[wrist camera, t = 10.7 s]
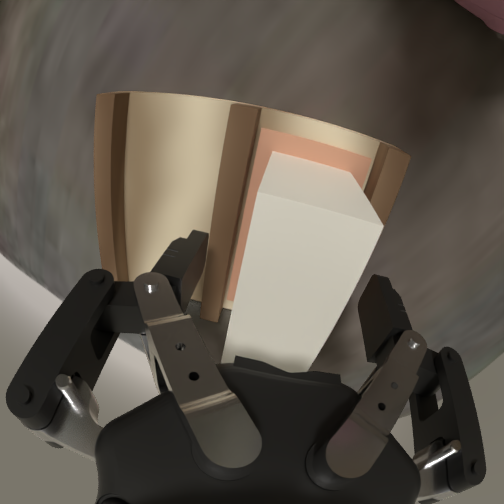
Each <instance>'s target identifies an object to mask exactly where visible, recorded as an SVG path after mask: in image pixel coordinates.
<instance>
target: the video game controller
mask: <svg viewBox="0 0 504 504" xmlns="http://www.w3.org/2000/svg"><path fill="white" fill-rule="evenodd" d="M454 1H455V2H457V3H458V4H459V5H461V6H462V7H464V8H465V9H467V10H468V11H469V12H471V13H472V14H474V15H475V16H477V17H478V18H480V19H482V20H483V21H484V23H485V24H486V25H487V26H488V27H489V28H490V29H492V30H494V31H496V32H498V33H500V34H503V35H504V0H454Z"/></svg>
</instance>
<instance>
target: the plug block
mask: <svg viewBox="0 0 504 504" xmlns="http://www.w3.org/2000/svg"><path fill="white" fill-rule="evenodd" d="M383 227H384V226H383V224H382V222H381V220H380V219H379V217H378V215H377V214H376V212H375V210H374V209H373V207H372V205H371V204H370V202H369V200H368V199H367V197H366V195H365V194H364V192H363V191H362V189H361V188H360V186H359V184H358V183H357V181H356V180H355V178H354V177H353V175H352V174H351V172H348V171H344V170H341V169H338V168H334V167H331V166H328V165H324V164H321V163H317V162H314V161H310V160H306V159H302V158H299V157H295V156H291V155H287V154H283V153H279V152H274V151H272V154H271V156H270V159H269V162H268V165H267V167H266V170H265V173H264V175H263V178H262V181H261V184H260V186H259V189H258V192H257V196H256V201H255V205H254V210H253V215H252V219H251V224H250V228H249V233H248V238H247V242H246V247H245V251H244V256H243V261H242V265H241V270H240V275H239V279H238V284H237V289H236V293H235V298H234V303H233V308H232V312H231V317H230V322H229V326H228V331H227V336H226V341H225V346H224V350H223V355H222V360H221V363H234V359H235V355H237V356H241V357H245V358H250V359H254V360H259V361H263V362H265V363H267V364H270V365H272V366H274V367H277V368H279V369H282V370H284V371H286V372H290V373H295V372H307V371H308V369H309V368H310V366H311V365H312V363H313V361H314V360H315V358H316V356H317V355H318V353H319V352H320V350H321V348H322V347H323V345H324V343H325V341H326V340H327V338H328V336H329V335H330V333H331V331H332V329H333V328H334V326H335V324H336V322H337V321H338V319H339V317H340V315H341V313H342V311H343V310H344V308H345V306H346V304H347V302H348V300H349V298H350V296H351V295H352V293H353V291H354V289H355V287H356V285H357V283H358V281H359V279H360V277H361V275H362V273H363V271H364V269H365V267H366V265H367V263H368V260H369V258H370V256H371V254H372V252H373V250H374V248H375V245H376V243H377V241H378V239H379V236H380V234H381V232H382V230H383Z"/></svg>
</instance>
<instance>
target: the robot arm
mask: <svg viewBox="0 0 504 504" xmlns="http://www.w3.org/2000/svg"><path fill="white" fill-rule="evenodd" d="M208 240H209V233H206V232H202V231H198V230H192V232H191V233H190V235H189V236H188V238H187V239H186V238H182V237H179V238H177V239H176V240H174V241H172V242H171V243H170V245H169V246H168V247H167V249H166V250H165V252H164V253H163V255H162V256H161V257H160V259H159V260H158V261H157V263H156V264H155V266H154V267H153V268H152V270H151V271H150V272H147V273H143V274H141V275H139V276H138V277H136V279H135V280H134V281H132V282H125V281H114V277H113V275H112V273H111V272H109V271H107V270H104V269H94V270H91V271H89V272H87V273H85V274H84V275H83V276H82V278H81V279H80V280H79V282H78V283H77V284H76V285H75V287H74V288H73V289H72V291H71V292H70V293H69V295H68V296H67V297H66V299H65V300H64V301H63V303H62V304H61V306H60V307H59V308H58V309H57V311H56V312H55V314H54V315H53V317H52V318H51V319H50V321H49V322H48V324H47V325H46V327H45V328H44V330H43V331H42V332H41V334H40V336H39V337H38V339H37V340H36V342H35V343H34V345H33V347H32V348H31V349H30V351H29V353H28V354H27V356H26V357H25V359H24V361H23V363H22V364H21V366H20V367H19V369H18V371H17V373H16V374H15V376H14V378H13V380H12V382H11V383H10V385H9V387H8V389H7V392H6V403H7V406H8V408H9V409H10V411H11V412H12V413H13V414H14V415H15V416H16V417H17V418H18V419H19V420H20V421H21V422H22V423H23V425H24V426H25V427H27V428H28V429H29V430H30V431H31V432H33V433H34V434H35V435H36V436H37V437H39V438H40V439H42V440H44V441H45V442H47V443H48V444H49V445H51V446H52V447H55V448H63V447H65V448H67V449H69V450H71V451H73V452H75V453H77V454H79V455H81V456H84V457H86V458H88V459H90V460H93V461H95V462H96V465H97V470H98V481H99V485H98V486H99V487H98V495H97V499H96V502H95V504H415V502H416V501H418V502H419V503H421V504H432V503H435V502H438V501H440V500H443V499H446V498H448V497H451V496H453V495H456V494H458V493H460V492H462V491H465V490H467V489H469V488H472V487H474V486H476V485H478V484H480V483H481V482H482V481H483V479H484V477H485V474H486V462H485V455H484V449H483V443H482V436H481V431H480V426H479V422H478V417H477V412H476V408H475V404H474V400H473V396H472V392H471V389H470V386H469V382H468V378H467V375H466V372H465V369H464V365H463V362H462V359H461V357H460V355H459V354H458V353H457V352H456V351H455V350H454V349H452V348H450V347H444V348H442V350H441V351H440V352H439V353H437V352H435V351H432V350H430V349H428V348H427V343H426V341H425V339H424V338H423V337H422V336H421V335H420V334H419V333H417V332H415V331H413V330H412V327H411V324H410V321H409V318H408V316H407V313H406V312H405V311H406V310H405V307H404V306H403V302H402V299H401V297H400V296H399V294H398V293H397V292H396V291H395V289H393V288H392V285H391V283H390V280H389V278H387V277H383V276H380V275H376V274H374V275H373V276H372V277H371V279H370V281H369V282H368V284H367V286H366V288H365V290H364V292H363V294H362V296H361V297H360V300H359V303H358V313H359V318H360V323H361V328H362V333H363V339H364V345H365V351H366V357H367V362H372V363H377V366H376V368H375V369H374V370H373V371H372V373H371V374H370V375H369V377H368V378H367V380H366V381H365V382H364V384H363V385H362V386H361V388H360V389H359V390H358V392H356V391H354V390H353V389H352V388H350V387H348V386H346V385H344V384H342V383H341V378H340V375H338V374H331V373H324V372H318V371H313V372H295V373H290V372H286V371H284V370H282V369H279V368H277V367H274V366H272V365H270V364H267V363H265V362H263V361H259V360H254V359H250V358H245V357H241V356H237V355H235V359H234V363H221V364H215V363H214V361H213V359H212V358H211V356H210V354H209V352H208V350H207V348H206V346H205V344H204V342H203V340H202V338H201V336H200V334H199V332H198V330H197V328H196V326H195V324H194V322H193V320H192V318H191V317H190V315H189V314H184V312H185V310H186V308H187V306H188V303H189V301H190V299H191V297H192V295H193V293H194V290H195V288H196V286H197V284H198V282H199V280H200V278H201V275H202V273H203V270H204V267H205V263H206V255H207V248H208ZM120 333H137V334H140V337H141V340H142V343H143V347H144V350H145V353H146V356H147V359H148V361H149V364H150V368H151V371H152V375H153V378H154V382H155V385H156V388H157V390H158V393H159V395H158V396H156V397H154V398H153V399H151V400H149V401H147V402H145V403H144V404H142V405H140V406H138V407H136V408H134V409H133V410H131V411H129V412H127V413H125V414H123V415H121V416H120V417H117V418H116V419H114V420H112V421H111V422H109V423H108V424H107V425H106V426H105V427H104V428H103V427H101V426H99V425H98V413H99V405H98V402H97V400H96V398H95V396H94V395H93V393H92V391H93V388H94V386H95V384H96V382H97V380H98V377H99V375H100V373H101V371H102V369H103V367H104V364H105V363H106V360H107V358H108V356H109V354H110V352H111V350H112V348H113V346H114V344H115V342H116V340H117V338H118V336H119V334H120ZM440 388H441V392H442V396H443V403H442V406H441V408H440V409H439V410H438V405H437V399H436V394H435V393H436V392H437V391H438V390H439V389H440ZM408 399H409V402H410V410H411V418H412V427H413V437H414V451H415V455H414V457H413V459H411V458H410V457H409V455H408V454H407V453H406V451H405V450H404V449H403V448H402V446H401V445H400V444H399V443H398V442H397V440H396V439H395V438H394V437H393V435H392V434H391V433H390V432H391V430H392V428H393V427H394V425H395V423H396V421H397V420H398V418H399V416H400V414H401V412H402V411H403V409H404V407H405V405H406V403H407V401H408Z"/></svg>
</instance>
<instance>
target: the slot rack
mask: <svg viewBox="0 0 504 504" xmlns="http://www.w3.org/2000/svg"><path fill="white" fill-rule="evenodd" d="M272 151H274V152H279V153H283V154H287V155H291V156H295V157H299V158H302V159H306V160H310V161H314V162H317V163H321V164H324V165H328V166H331V167H334V168H338V169H341V170H344V171H348V172H351V174H352V175H353V177H354V178H355V180H356V181H357V183H358V184H359V186H360V188H361V189H362V191H363V192H364V194H365V195H366V197H367V199H368V200H369V202H370V204H371V205H372V207H373V209H374V210H375V212H376V214H377V215H378V217H379V219H380V220H381V222H382V224H383V226H385V224H386V221H387V219H388V217H389V214H390V212H391V209H392V207H393V205H394V202H395V200H396V197H397V194H398V192H399V189H400V187H401V184H402V181H403V179H404V176H405V173H406V170H407V167H408V165H409V162H410V159H411V156H410V155H408V154H407V153H405V152H404V151H402V150H400V149H399V148H397V147H395V146H394V145H391V144H388V143H386V142H383V141H381V140H378V139H375V138H372V137H370V136H367V135H364V134H361V133H358V132H355V131H352V130H349V129H346V128H343V127H340V126H337V125H333V124H330V123H327V122H323V121H320V120H316V119H313V118H309V117H305V116H301V115H297V114H293V113H289V112H285V111H281V110H276V109H272V108H267V107H262V106H257V105H252V104H247V103H241V102H236V101H229V100H223V99H216V98H209V97H201V96H193V95H183V94H172V93H158V92H137V91H119V92H110V93H102V94H97V98H96V110H95V128H94V189H95V207H96V220H97V231H98V240H99V249H100V256H101V264H102V269H104V270H107V271H109V272H111V273H112V275H113V277H114V281H125V282H128V281H131V282H132V281H134V280H135V279H136V277H138V276H139V275H141V274H143V273H147V272H150V271H151V270H152V268H153V267H154V266H155V264H156V263H157V261H158V260H159V259H160V257H161V256H162V255H163V253H164V252H165V250H166V249H167V247H168V246H169V245H170V243H171V242H172V241H174V240H176V239H177V238H179V237H182V238H186V239H187V238H188V236H189V235H190V233H191V232H192V230H198V231H202V232H206V233H209V240H208V248H207V255H206V263H205V267H204V270H203V273H202V275H201V278H200V280H199V282H198V284H197V286H196V288H195V290H194V293H193V295H192V297H191V299H193V300H196V301H200V302H201V312H200V318H201V319H205V320H209V321H213V322H217V323H218V320H219V317H220V314H221V311H222V307H223V308H227V309H231V310H232V308H233V303H234V298H235V293H236V289H237V284H238V279H239V275H240V270H241V265H242V261H243V256H244V251H245V247H246V242H247V238H248V233H249V228H250V224H251V219H252V215H253V210H254V205H255V201H256V196H257V192H258V189H259V186H260V184H261V181H262V178H263V175H264V173H265V170H266V167H267V165H268V162H269V159H270V156H271V154H272ZM383 228H384V227H383ZM382 231H383V230H382ZM381 233H382V232H381ZM380 235H381V234H380ZM379 238H380V236H379ZM378 240H379V239H378ZM377 242H378V241H377ZM376 244H377V243H376ZM375 246H376V245H375ZM374 249H375V248H374ZM373 251H374V250H373ZM372 253H373V252H372ZM371 255H372V254H371ZM370 257H371V256H370ZM369 259H370V258H369ZM368 261H369V260H368ZM366 266H367V265H366ZM365 268H366V267H365ZM364 270H365V269H364ZM363 272H364V271H363ZM362 274H363V273H362ZM361 276H362V275H361ZM360 278H361V277H360ZM359 280H360V279H359ZM358 282H359V281H358ZM357 284H358V283H357ZM356 286H357V285H356ZM355 288H356V287H355ZM354 290H355V289H354ZM353 292H354V291H353ZM350 297H351V296H350ZM349 299H350V298H349ZM348 301H349V300H348ZM347 303H348V302H347ZM346 305H347V304H346ZM345 307H346V306H345ZM344 309H345V308H344ZM342 312H343V311H342ZM341 314H342V313H341ZM340 316H341V315H340ZM339 318H340V317H339ZM336 323H337V322H336ZM335 325H336V324H335ZM334 327H335V326H334ZM332 330H333V329H332ZM331 332H332V331H331ZM330 334H331V333H330ZM328 337H329V336H328ZM327 339H328V338H327ZM325 342H326V341H325ZM324 344H325V343H324Z"/></svg>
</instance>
